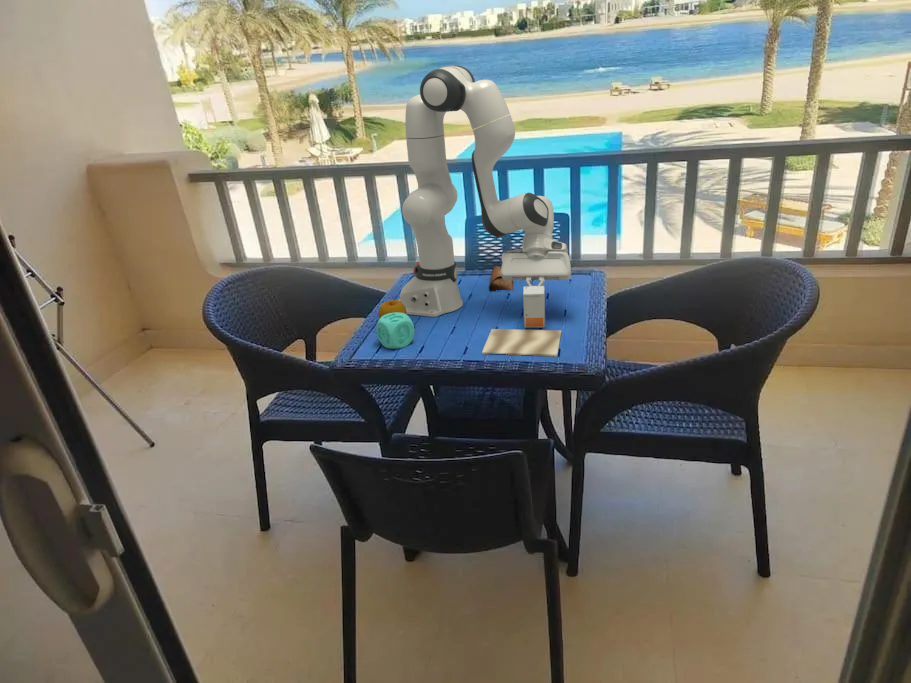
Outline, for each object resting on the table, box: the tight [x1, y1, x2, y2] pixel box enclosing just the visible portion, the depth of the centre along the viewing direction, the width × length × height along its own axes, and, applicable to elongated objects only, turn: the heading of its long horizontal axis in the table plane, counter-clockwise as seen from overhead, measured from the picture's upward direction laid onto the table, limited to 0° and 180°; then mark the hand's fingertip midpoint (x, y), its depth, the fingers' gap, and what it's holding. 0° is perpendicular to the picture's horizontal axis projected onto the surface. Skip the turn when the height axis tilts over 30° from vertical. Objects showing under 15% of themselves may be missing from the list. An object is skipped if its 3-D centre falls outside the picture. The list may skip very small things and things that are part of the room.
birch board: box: [481, 328, 562, 358], centre depth 169 cm, size 20×15×1 cm
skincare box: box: [522, 285, 546, 329], centre depth 175 cm, size 6×4×12 cm
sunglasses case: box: [489, 265, 514, 292], centre depth 214 cm, size 18×7×7 cm
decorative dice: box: [375, 312, 416, 350], centre depth 174 cm, size 8×8×8 cm
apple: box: [377, 299, 407, 320], centre depth 184 cm, size 9×8×9 cm
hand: (534, 292), depth 175 cm, fingers closed
